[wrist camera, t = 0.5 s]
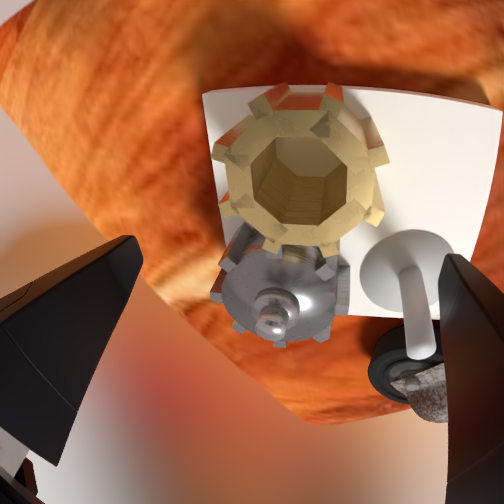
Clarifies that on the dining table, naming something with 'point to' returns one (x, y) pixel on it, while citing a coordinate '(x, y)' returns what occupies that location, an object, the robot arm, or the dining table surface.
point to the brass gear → (302, 187)
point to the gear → (281, 289)
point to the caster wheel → (410, 376)
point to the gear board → (393, 193)
